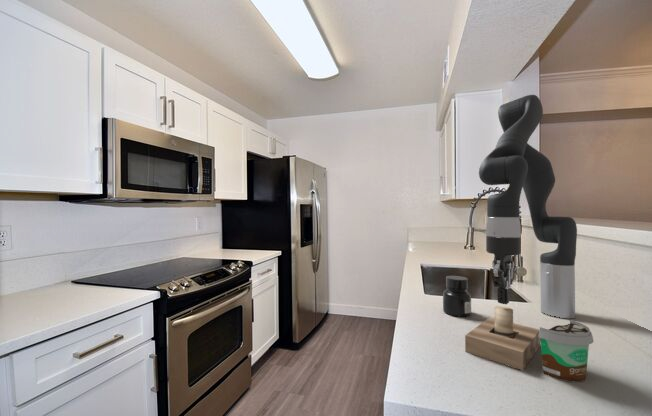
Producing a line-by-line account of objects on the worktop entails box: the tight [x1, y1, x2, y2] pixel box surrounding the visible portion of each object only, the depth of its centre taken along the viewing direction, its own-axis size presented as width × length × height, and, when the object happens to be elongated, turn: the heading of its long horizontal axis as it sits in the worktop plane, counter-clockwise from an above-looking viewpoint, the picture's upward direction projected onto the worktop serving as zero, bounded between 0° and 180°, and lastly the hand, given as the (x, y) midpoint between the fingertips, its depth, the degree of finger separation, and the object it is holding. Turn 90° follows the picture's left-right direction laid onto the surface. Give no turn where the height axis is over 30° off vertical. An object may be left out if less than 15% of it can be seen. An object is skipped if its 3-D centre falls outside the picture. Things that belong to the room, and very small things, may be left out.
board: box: [464, 317, 541, 371], centre depth 73 cm, size 18×12×4 cm, turn 133°
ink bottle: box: [442, 275, 472, 318], centre depth 99 cm, size 10×9×12 cm
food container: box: [538, 319, 594, 383], centre depth 61 cm, size 12×6×10 cm, turn 114°
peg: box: [494, 305, 514, 339], centre depth 73 cm, size 4×4×10 cm
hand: (503, 303), depth 73 cm, fingers closed
